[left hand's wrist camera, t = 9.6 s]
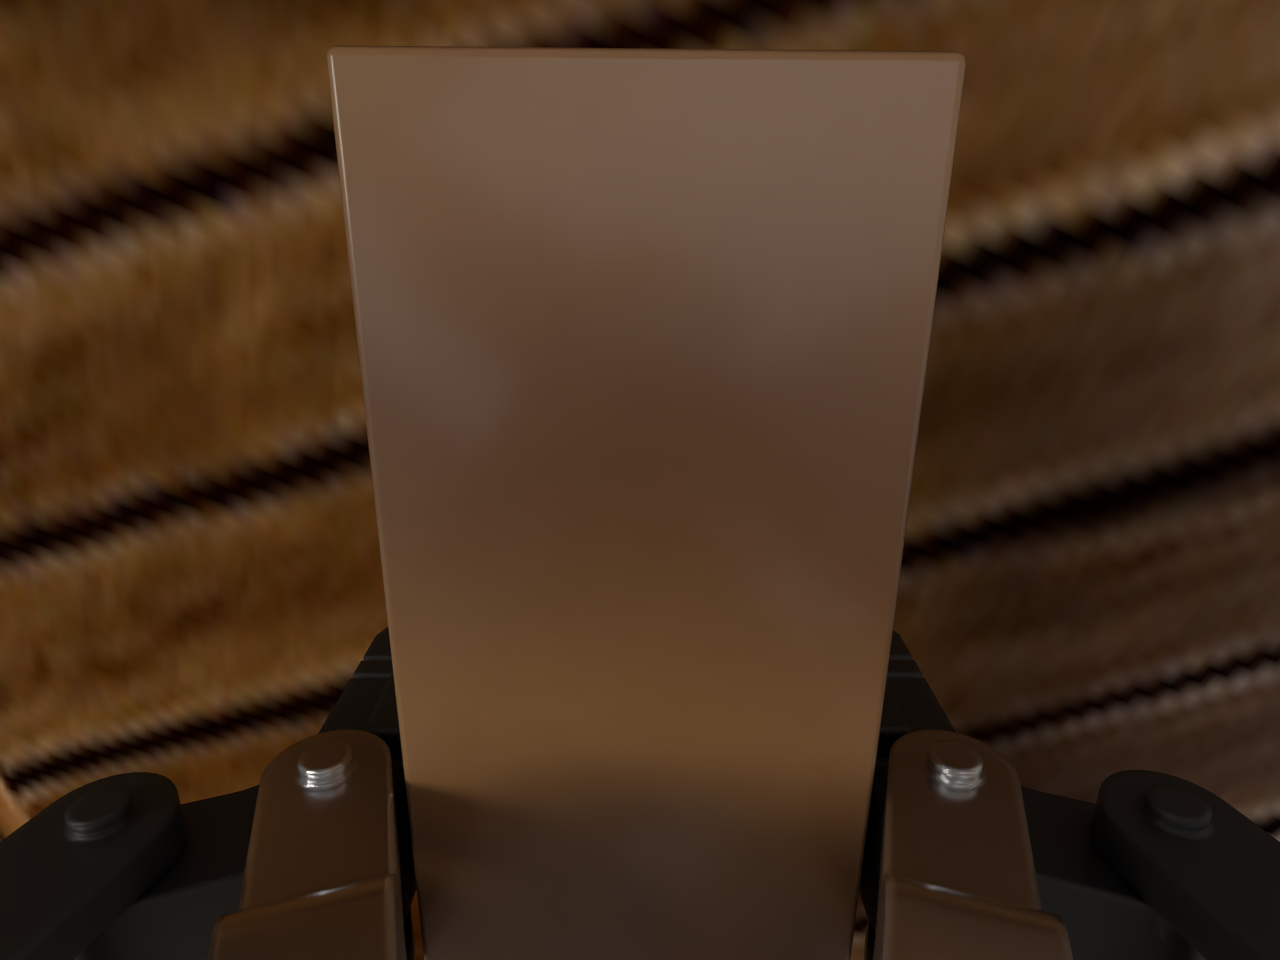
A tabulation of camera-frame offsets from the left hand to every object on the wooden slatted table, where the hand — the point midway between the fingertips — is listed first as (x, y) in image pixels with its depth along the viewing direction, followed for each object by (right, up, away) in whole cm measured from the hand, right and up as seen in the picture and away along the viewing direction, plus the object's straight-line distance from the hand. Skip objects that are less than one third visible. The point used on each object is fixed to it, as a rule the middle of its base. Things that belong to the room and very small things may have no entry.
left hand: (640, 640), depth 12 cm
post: (0, -19, +11) cm, 22 cm away
